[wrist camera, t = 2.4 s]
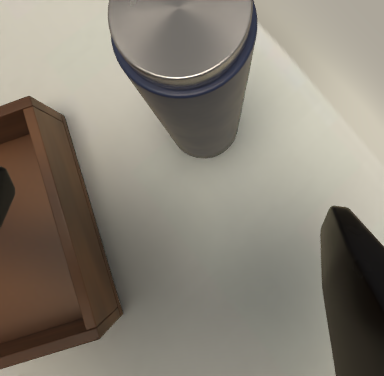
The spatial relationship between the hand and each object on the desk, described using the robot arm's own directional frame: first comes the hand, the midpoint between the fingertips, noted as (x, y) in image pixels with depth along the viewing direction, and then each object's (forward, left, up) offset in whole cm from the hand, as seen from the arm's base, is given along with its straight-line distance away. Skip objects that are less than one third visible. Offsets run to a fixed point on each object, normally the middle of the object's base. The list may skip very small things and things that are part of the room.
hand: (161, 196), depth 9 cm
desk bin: (+1, +13, -12) cm, 17 cm away
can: (+4, -2, -12) cm, 13 cm away
